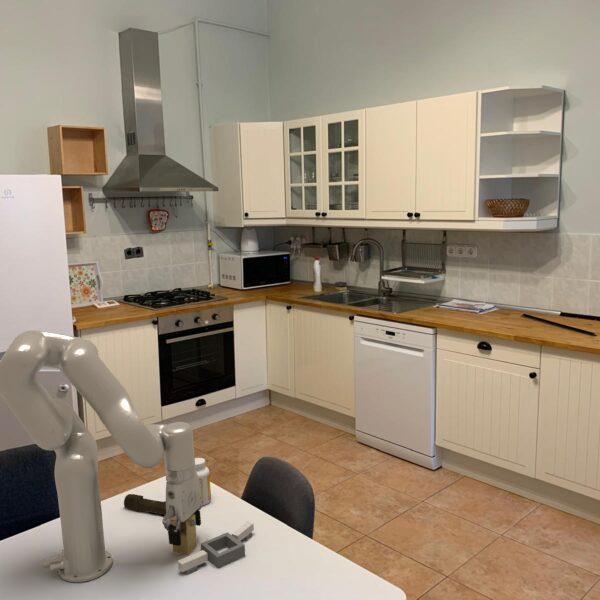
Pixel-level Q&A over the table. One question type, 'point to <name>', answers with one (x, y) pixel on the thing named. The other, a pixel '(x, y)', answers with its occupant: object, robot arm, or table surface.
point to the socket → (218, 543)
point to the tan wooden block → (186, 536)
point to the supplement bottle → (203, 480)
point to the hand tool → (144, 504)
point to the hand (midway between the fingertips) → (185, 534)
